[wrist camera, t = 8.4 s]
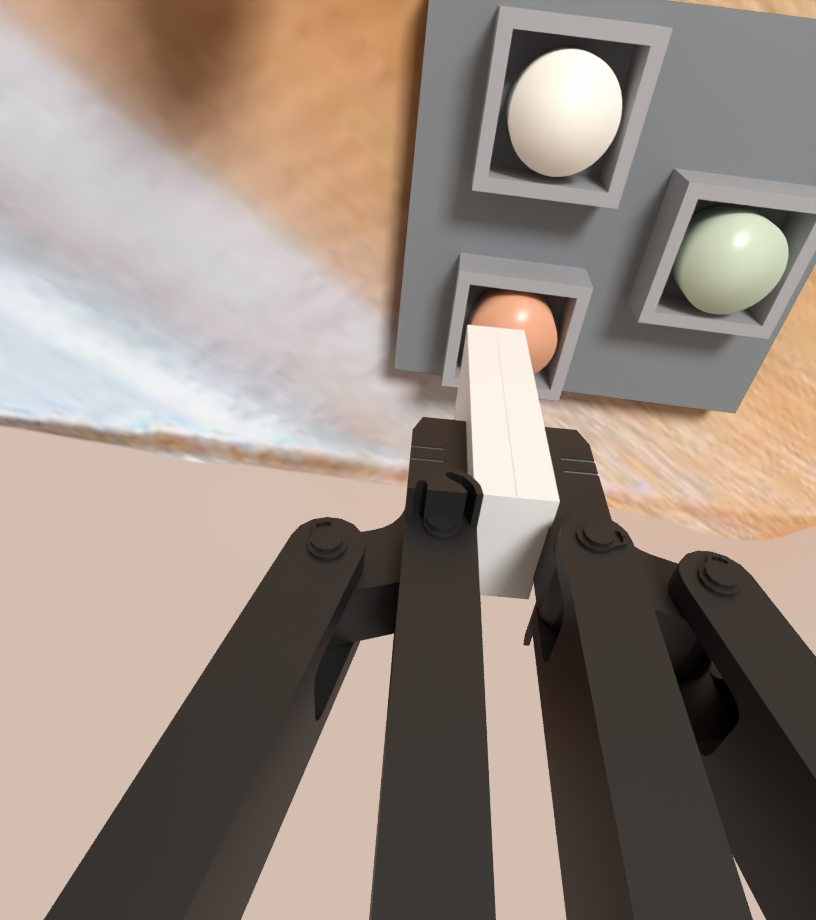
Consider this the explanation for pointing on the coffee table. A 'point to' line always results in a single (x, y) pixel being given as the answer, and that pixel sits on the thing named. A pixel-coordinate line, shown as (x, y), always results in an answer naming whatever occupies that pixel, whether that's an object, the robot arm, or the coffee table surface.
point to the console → (610, 191)
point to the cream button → (563, 111)
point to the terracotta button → (519, 320)
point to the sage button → (729, 258)
